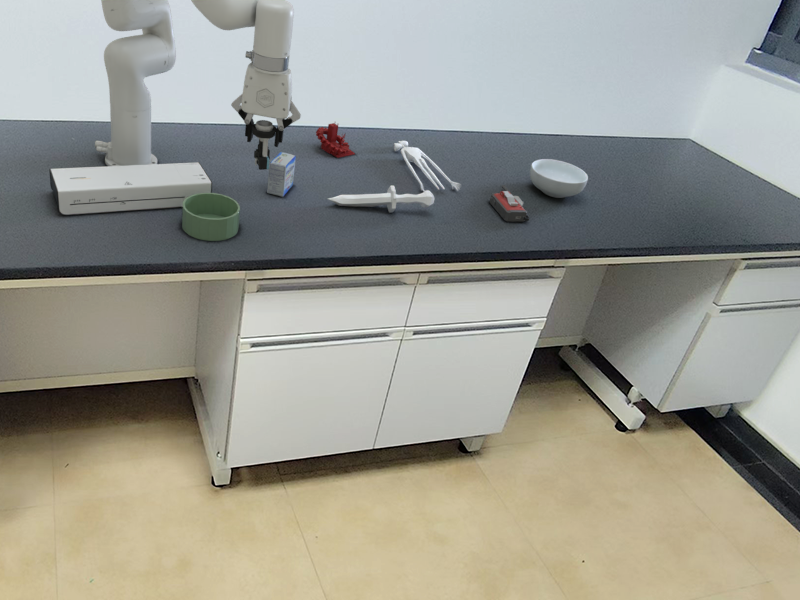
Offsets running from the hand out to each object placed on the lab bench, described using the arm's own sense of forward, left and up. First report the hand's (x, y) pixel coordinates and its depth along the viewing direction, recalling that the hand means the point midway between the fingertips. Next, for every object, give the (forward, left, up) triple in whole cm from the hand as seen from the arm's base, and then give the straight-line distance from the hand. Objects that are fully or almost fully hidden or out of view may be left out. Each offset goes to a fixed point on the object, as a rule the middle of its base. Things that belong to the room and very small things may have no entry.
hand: (263, 141), depth 170 cm
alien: (+38, +48, -21) cm, 65 cm away
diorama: (+13, +51, -21) cm, 57 cm away
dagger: (+28, +18, -21) cm, 40 cm away
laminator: (-30, +2, -21) cm, 37 cm away
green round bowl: (-10, -5, -21) cm, 24 cm away
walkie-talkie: (+63, +34, -21) cm, 75 cm away
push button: (0, 0, -6) cm, 6 cm away
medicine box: (+2, +20, -21) cm, 29 cm away
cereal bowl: (+79, +50, -21) cm, 96 cm away
